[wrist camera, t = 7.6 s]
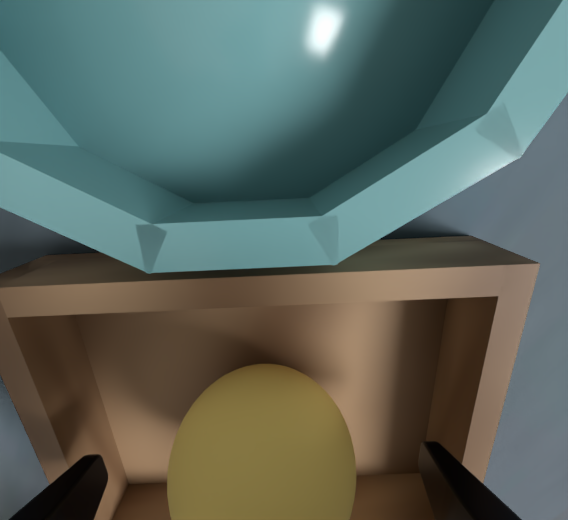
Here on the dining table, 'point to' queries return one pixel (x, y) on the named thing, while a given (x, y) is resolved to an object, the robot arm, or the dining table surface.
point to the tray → (267, 358)
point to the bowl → (263, 119)
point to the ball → (262, 451)
